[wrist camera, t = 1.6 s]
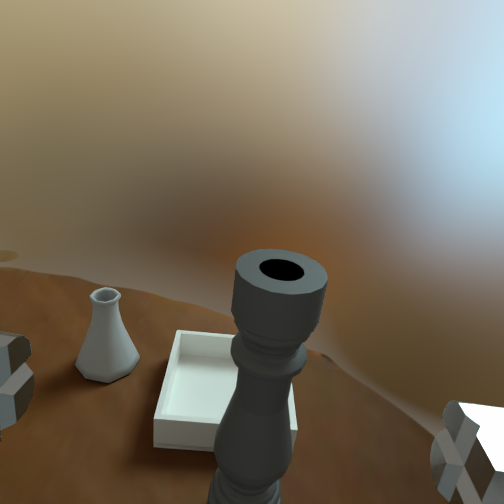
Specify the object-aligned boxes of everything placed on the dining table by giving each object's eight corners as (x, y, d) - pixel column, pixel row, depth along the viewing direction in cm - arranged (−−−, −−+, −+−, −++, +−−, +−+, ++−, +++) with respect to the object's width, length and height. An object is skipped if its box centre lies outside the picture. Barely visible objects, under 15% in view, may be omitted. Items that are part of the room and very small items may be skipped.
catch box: (153, 447, 42) (153, 418, 40) (176, 354, 54) (177, 329, 52) (291, 457, 42) (297, 430, 41) (282, 363, 55) (286, 339, 53)
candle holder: (204, 487, 38) (227, 245, 28) (269, 483, 40) (316, 248, 29) (206, 561, 33) (236, 295, 22) (282, 555, 34) (346, 298, 23)
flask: (108, 393, 47) (105, 321, 43) (63, 368, 50) (55, 298, 46) (150, 357, 53) (151, 291, 49) (107, 337, 56) (104, 272, 52)
